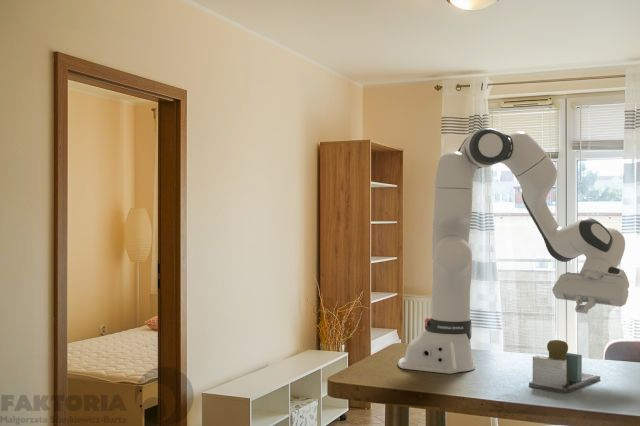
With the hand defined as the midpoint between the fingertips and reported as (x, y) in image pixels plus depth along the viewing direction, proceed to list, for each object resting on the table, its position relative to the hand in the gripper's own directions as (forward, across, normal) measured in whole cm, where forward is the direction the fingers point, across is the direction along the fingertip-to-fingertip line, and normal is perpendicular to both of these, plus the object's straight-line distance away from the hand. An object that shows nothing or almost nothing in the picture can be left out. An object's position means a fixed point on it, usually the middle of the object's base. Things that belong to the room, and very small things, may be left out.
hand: (580, 311), depth 184 cm
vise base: (+20, +1, +6) cm, 21 cm away
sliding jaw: (+19, +1, +5) cm, 20 cm away
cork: (+22, +1, +3) cm, 23 cm away
